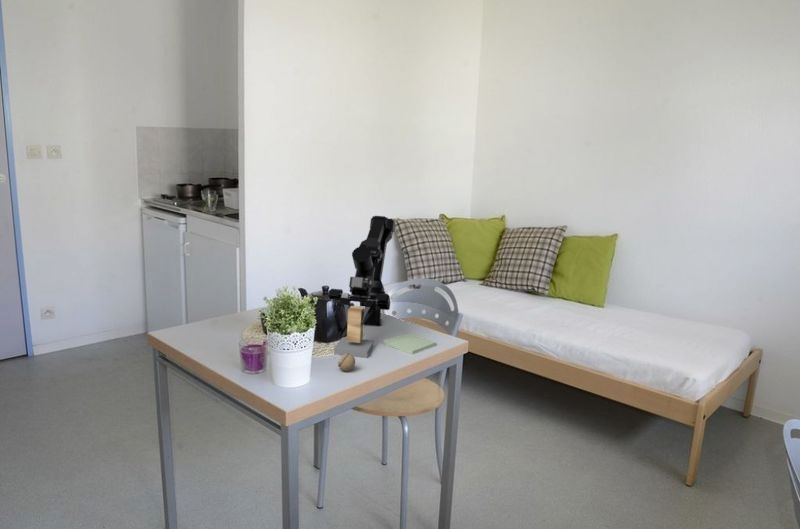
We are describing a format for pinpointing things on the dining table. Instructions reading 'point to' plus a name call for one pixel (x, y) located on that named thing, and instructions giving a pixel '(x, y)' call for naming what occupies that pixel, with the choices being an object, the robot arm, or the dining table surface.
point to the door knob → (346, 362)
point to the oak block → (355, 324)
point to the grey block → (354, 348)
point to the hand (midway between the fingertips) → (354, 323)
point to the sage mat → (409, 343)
